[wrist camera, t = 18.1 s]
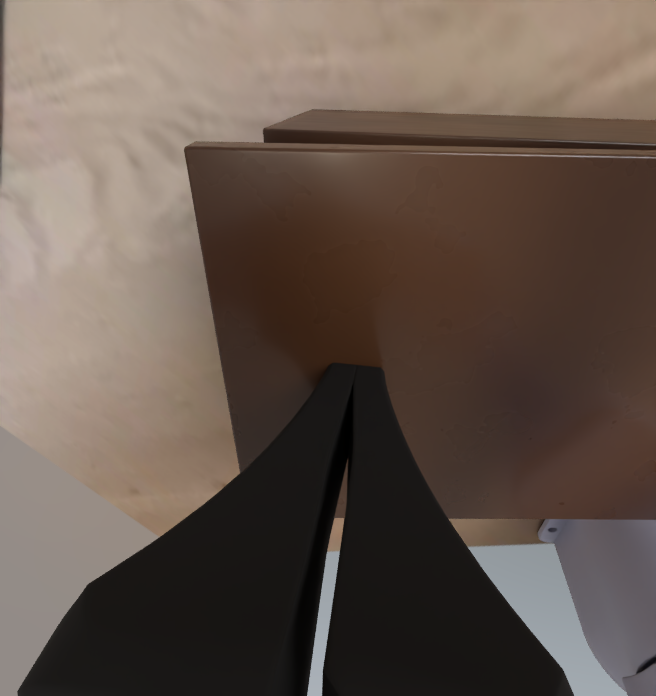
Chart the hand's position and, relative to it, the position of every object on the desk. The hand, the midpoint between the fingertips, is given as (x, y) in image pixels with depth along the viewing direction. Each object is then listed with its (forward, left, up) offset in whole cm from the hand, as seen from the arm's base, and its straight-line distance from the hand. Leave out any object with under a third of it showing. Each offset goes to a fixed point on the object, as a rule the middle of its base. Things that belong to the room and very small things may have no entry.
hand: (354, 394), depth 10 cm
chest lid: (0, -4, -1) cm, 4 cm away
